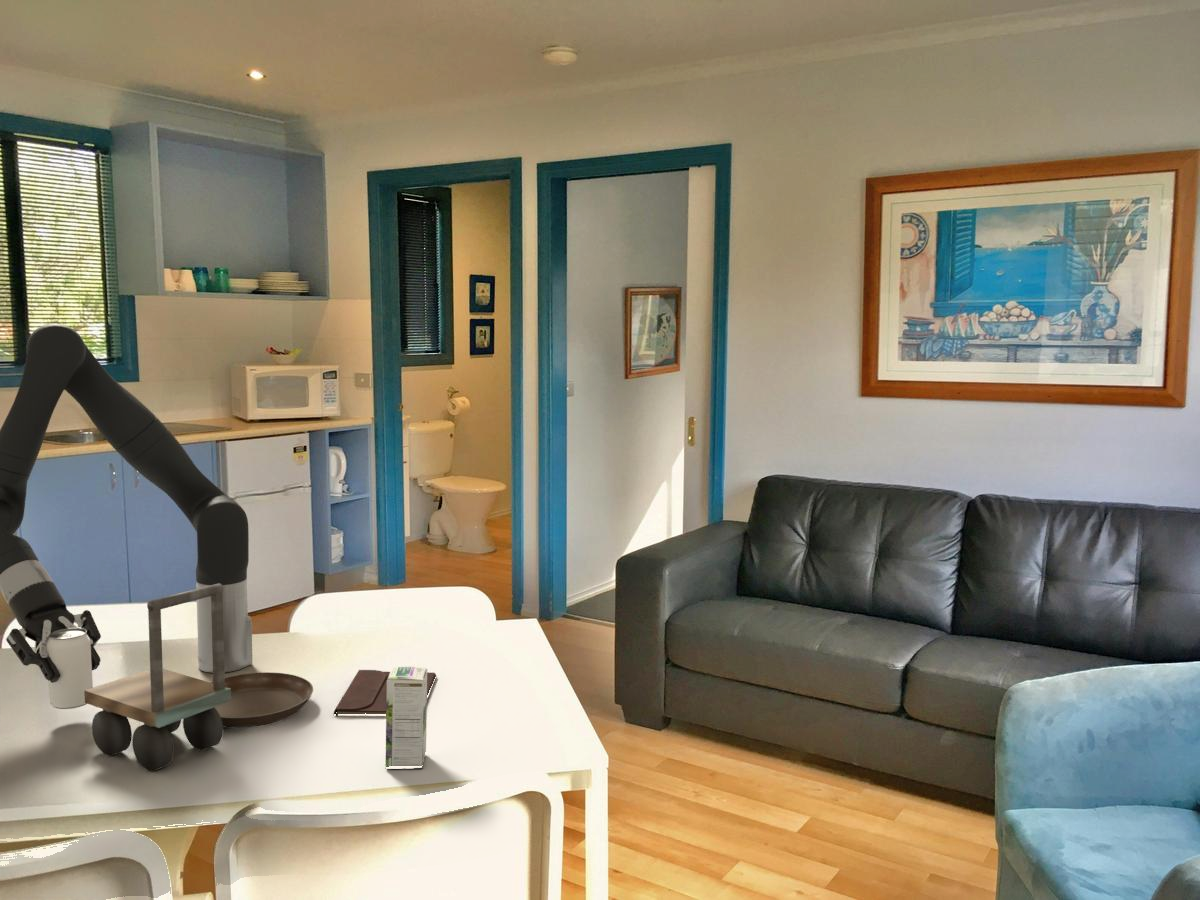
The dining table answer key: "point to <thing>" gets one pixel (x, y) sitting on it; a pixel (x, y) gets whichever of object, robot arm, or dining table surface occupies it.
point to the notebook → (369, 693)
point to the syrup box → (406, 716)
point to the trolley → (163, 695)
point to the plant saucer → (263, 699)
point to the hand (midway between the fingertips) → (76, 673)
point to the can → (70, 667)
